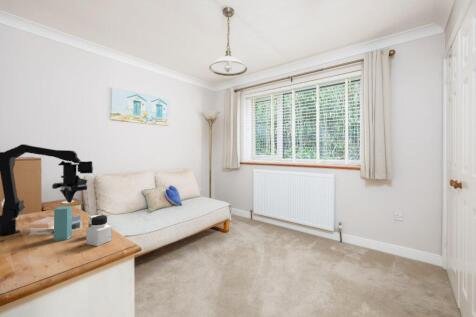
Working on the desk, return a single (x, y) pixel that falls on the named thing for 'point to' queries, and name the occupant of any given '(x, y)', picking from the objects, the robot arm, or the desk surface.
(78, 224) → the white channel beam
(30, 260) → the desk surface
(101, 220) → the medicine bottle
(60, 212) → the teal box
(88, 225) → the supplement bottle
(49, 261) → the desk surface
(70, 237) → the coaster
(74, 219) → the cover
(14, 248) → the desk surface
